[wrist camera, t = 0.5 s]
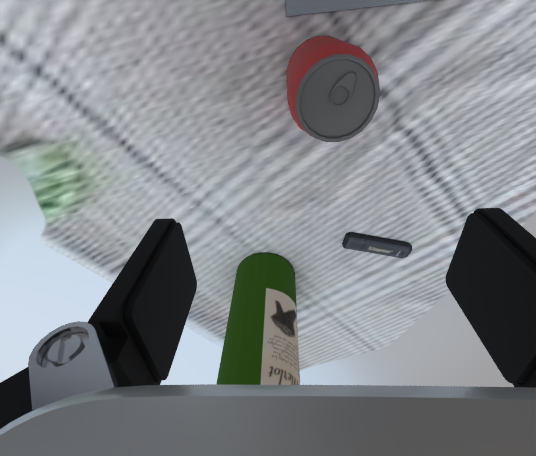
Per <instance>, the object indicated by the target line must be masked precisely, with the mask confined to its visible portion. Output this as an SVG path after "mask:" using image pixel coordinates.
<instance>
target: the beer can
mask: <svg viewBox="0 0 536 456" xmlns="http://www.w3.org/2000/svg"><path fill="white" fill-rule="evenodd" d="M379 89H380V88H379V80H378V72H377V70H376V68H375V66H374V64H373V61H372V59H371V58H370V57H369V56H368V55H367V54H366V53H365V52H364V51H363V50H362V49H361V48H359V47H357V46H354V45H352V44H349V43H346V42H344V41H341V40H339V39H336V38H333V37H331V36H316V37H313V38H311V39H308V40H306V41H305V42H304V43H302V44H301V45H300V46H299V47H298V48H297V49H296V50H295V52H294V54H293V55H292V57H291V58H290V61H289V65H288V68H287V95H288V105H289V108H290V112H291V115H292V117H293V119H294V120H295V122H296V123H297V125H298V126H299V127H300V128H301V129H302V130H304V131H305V132H306V133H308V134H309V135H310V136H313V137H314V138H316V139H319V140H322V141H325V142H340V141H343V140H346V139H350V138H352V137H353V136H355V135H356V134H358V133H359V132H361V131H362V130H363V129H364V128H365V127H366V126H367V125H368V123H369V122H370V121H371V120H372V118H373V116H374V114H375V112H376V110H377V107H378V102H379V96H380V91H379Z"/></svg>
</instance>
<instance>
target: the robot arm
mask: <svg viewBox="0 0 536 456" xmlns="http://www.w3.org/2000/svg"><path fill="white" fill-rule="evenodd" d="M446 284H447V287H448V288H449V290H450V292H451V293H452V295H453V296H454V298H455V300H456V301H457V303H458V304H459V306H460V308H461V309H462V311H463V312H464V314H465V316H466V317H467V319H468V320H469V322H470V323H471V325H472V327H473V328H474V330H475V332H476V333H477V335H478V337H479V338H480V339H481V341H482V343H483V345H484V346H485V348H486V349H487V351H488V352H489V354H490V356H491V357H492V359H493V361H494V362H495V364H496V365H497V367H498V369H499V370H500V372H501V373H502V375H503V377H504V378H505V379H506V380H507V381H508V382H510V383H512V384H513V385H514V387H455V386H453V387H451V386H450V387H449V386H367V385H366V386H365V385H364V386H363V385H357V386H356V385H160V383H161V380H165V379H166V378H167V376H168V374H169V371H170V368H171V365H172V361H173V359H174V356H175V353H176V350H177V347H178V344H179V341H180V338H181V335H182V332H183V329H184V325H185V322H186V319H187V316H188V313H189V310H190V307H191V304H192V301H193V298H194V295H195V292H196V288H197V281H196V277H195V273H194V269H193V266H192V262H191V259H190V255H189V251H188V248H187V244H186V240H185V237H184V233H183V230H182V226H181V224H180V223H176V221H175V220H174V219H156V220H155V221H154V222H153V224H152V225H151V227H150V228H149V230H148V231H147V233H146V234H145V236H144V237H143V239H142V240H141V242H140V243H139V245H138V246H137V248H136V249H135V251H134V252H133V254H132V256H131V257H130V259H129V260H128V262H127V263H126V265H125V266H124V268H123V269H122V271H121V272H120V274H119V275H118V277H117V278H116V280H115V281H114V283H113V284H112V286H111V287H110V289H109V290H108V292H107V294H106V295H105V297H104V298H103V300H102V301H101V303H100V304H99V306H98V307H97V309H96V310H95V312H94V313H93V315H92V316H91V318H90V319H89V321H88V322H73V323H69V324H66V325H63V326H61V327H59V328H57V329H55V330H53V331H52V332H50V333H49V334H48V335H46V336H45V337H44V338H43V339H41V340H40V342H39V343H38V344H37V345H36V346H35V347H34V349H33V351H32V353H31V355H30V357H29V363H28V366H29V367H27V368H25V369H24V370H22V371H20V372H19V373H17V374H15V375H13V376H11V377H10V378H8V379H6V380H5V381H3V382H1V383H0V456H536V238H535V237H534V236H533V235H531V234H530V233H529V232H528V231H527V230H525V229H524V228H523V227H522V226H521V225H520V224H518V223H517V222H516V221H515V220H514V219H513V218H511V217H510V216H509V215H508V214H507V213H505V212H504V211H503V210H502V209H500V208H480V209H476V210H475V211H474V213H471V214H470V215H469V216H468V218H467V220H466V223H465V226H464V228H463V231H462V234H461V236H460V239H459V242H458V245H457V247H456V250H455V253H454V255H453V258H452V261H451V264H450V266H449V269H448V272H447V274H446Z"/></svg>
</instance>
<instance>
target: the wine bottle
mask: <svg viewBox="0 0 536 456" xmlns="http://www.w3.org/2000/svg"><path fill="white" fill-rule="evenodd" d="M217 385H300V374H299V353H298V331H297V310H296V289H295V273H294V270H293V268H292V266H291V265H290V263H289V262H288V261H287V260H286V259H284V258H283V257H281V256H279V255H276V254H272V253H258V254H253V255H251V256H249V257H247V258H246V259H245V260H243V261H242V263H241V264H240V266H239V267H238V269H237V274H236V280H235V285H234V291H233V296H232V302H231V307H230V313H229V318H228V324H227V329H226V335H225V340H224V346H223V352H222V357H221V363H220V368H219V374H218V379H217Z"/></svg>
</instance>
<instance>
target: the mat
mask: <svg viewBox="0 0 536 456" xmlns="http://www.w3.org/2000/svg"><path fill="white" fill-rule="evenodd" d="M418 1H426V0H286V16H295V15H304V14H313V13H321V12H330V11H339V10H348V9H356V8H365V7H374V6H383V5H391V4H400V3H409V2H418Z"/></svg>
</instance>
